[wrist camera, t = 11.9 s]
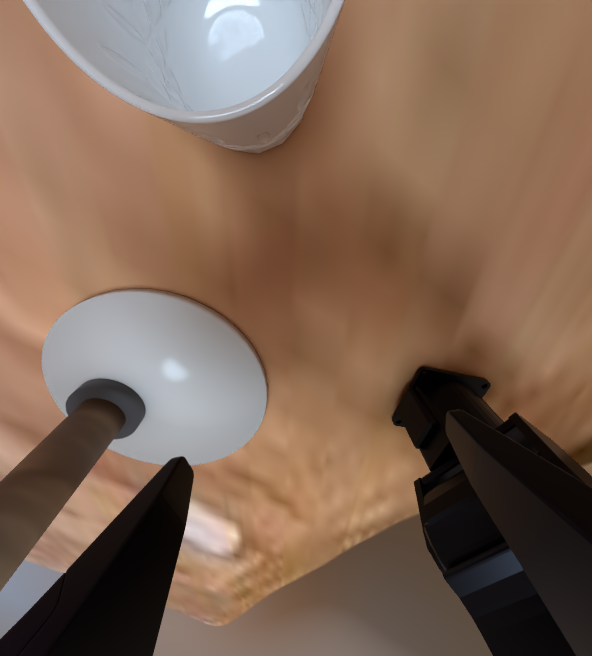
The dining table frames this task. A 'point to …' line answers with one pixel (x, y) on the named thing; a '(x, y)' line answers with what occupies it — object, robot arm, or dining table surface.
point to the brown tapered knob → (62, 465)
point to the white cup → (202, 59)
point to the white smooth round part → (162, 371)
